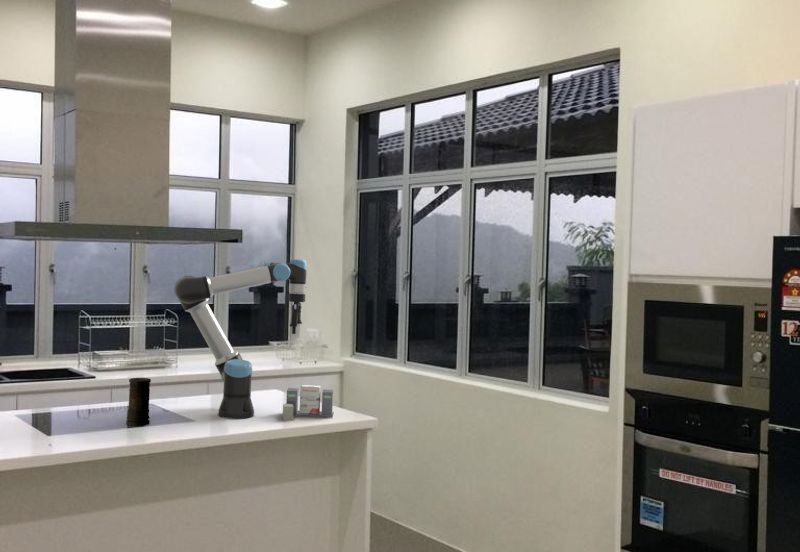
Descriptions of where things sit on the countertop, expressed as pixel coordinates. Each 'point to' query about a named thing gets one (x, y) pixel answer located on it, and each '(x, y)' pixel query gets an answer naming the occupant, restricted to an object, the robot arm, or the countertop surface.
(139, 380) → the container
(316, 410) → the ink box
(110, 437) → the countertop surface
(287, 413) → the block
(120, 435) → the countertop surface
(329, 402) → the grey holder fixture
